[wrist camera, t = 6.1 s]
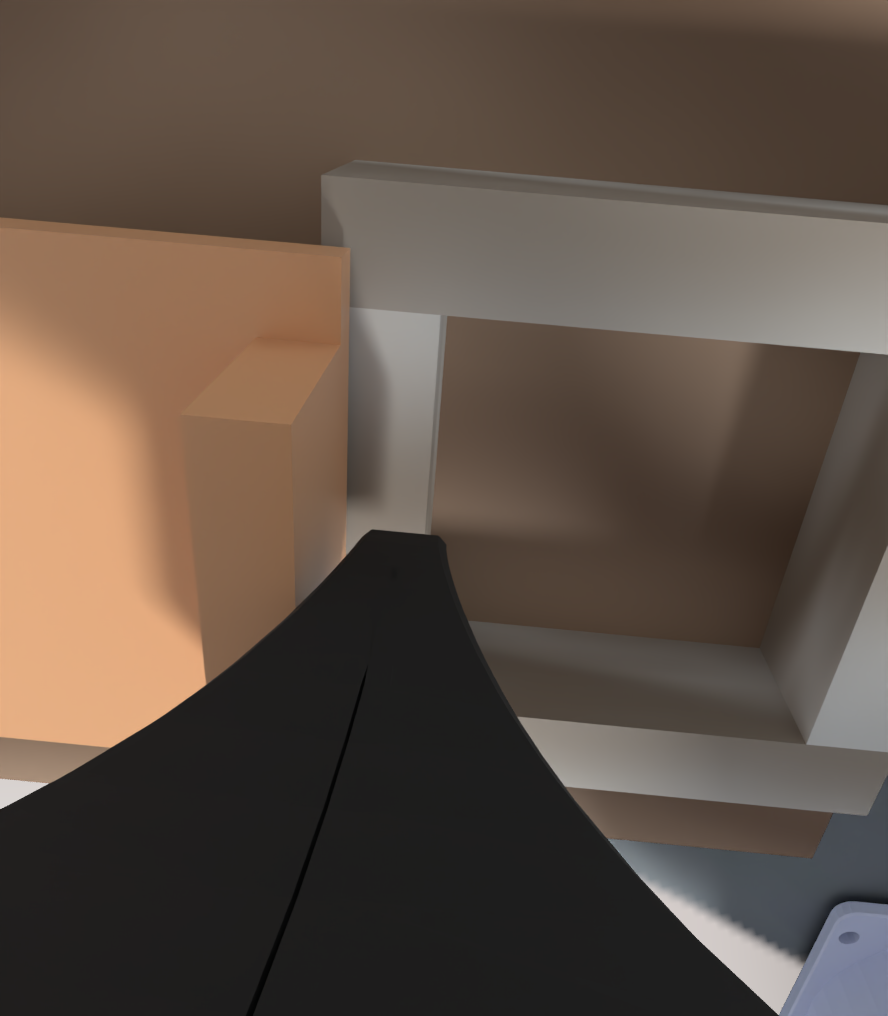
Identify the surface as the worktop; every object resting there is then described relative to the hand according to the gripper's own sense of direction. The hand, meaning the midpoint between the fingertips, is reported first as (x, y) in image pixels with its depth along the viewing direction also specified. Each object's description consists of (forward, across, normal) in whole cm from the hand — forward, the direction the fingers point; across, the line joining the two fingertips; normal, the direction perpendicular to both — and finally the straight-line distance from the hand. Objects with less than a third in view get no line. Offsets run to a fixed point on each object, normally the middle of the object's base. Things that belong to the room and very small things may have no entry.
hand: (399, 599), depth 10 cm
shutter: (+1, +5, 0) cm, 5 cm away
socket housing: (+6, 0, 0) cm, 6 cm away
